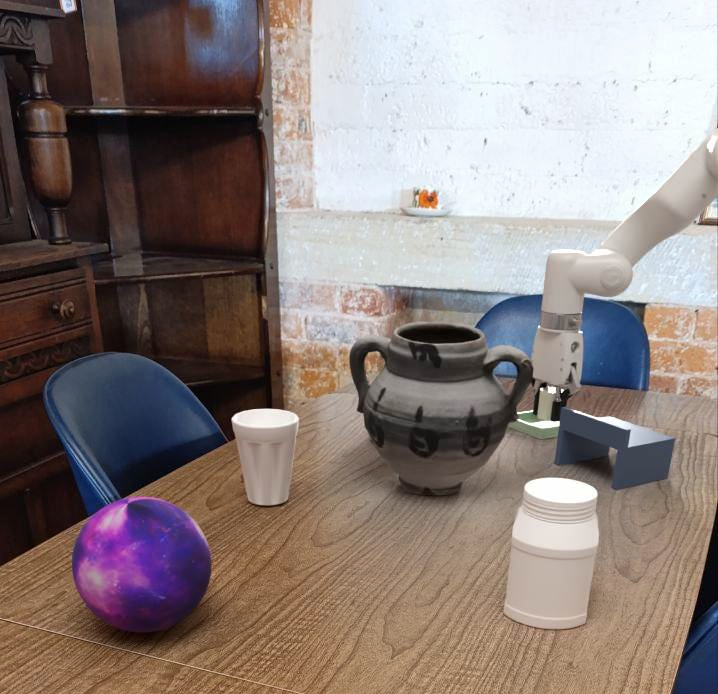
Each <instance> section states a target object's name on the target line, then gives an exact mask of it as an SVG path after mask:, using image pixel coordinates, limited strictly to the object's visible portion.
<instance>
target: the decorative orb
mask: <svg viewBox="0 0 718 694" xmlns="http://www.w3.org/2000/svg"><path fill="white" fill-rule="evenodd" d="M71 569H72V570H71V572H72V578H73V582H74V586H75V588H76V590H77V592H78V595H79V597H80V599H81V600H82V601H83V603H84V605H85V606H86V607H87V609H89V610H90V612H91V613H93V614H94V615H95V616H96V617H97V618H98V619H100V620H102V621H103V622H104V623H106V624H108V625H110V626H111V627H114V628H117V629H119V630H123V631H127V632H131V633H154V632H159V631H163V630H167V629H169V628H171V627H173V626H175V625H178V624H179V623H180V622H182V621H183V620H185V619H187V617H189V616H190V615H191V614H193V612H194V611H195V610H196V609H197V607H198V606H199V605H200V603H201V602H202V601H203V598H204V597H205V595H206V593H207V591H208V588H209V585H210V582H211V577H212V553H211V549H210V545H209V542H208V540H207V538H206V536H205V534H204V532H203V530H202V529H201V527H200V526H199V524H198V523H197V522H196V521H195V519H193V517H191V516H190V515H189V514H188V513H187V512H186V511H185V510H184V509H182V508H180V507H179V506H177V505H175V504H173V503H171V502H169V501H166V500H163V499H160V498H157V497H151V496H132V497H131V496H129V497H125V498H121V499H118V500H115V501H113V502H110V503H109V504H106V505H105V506H104V507H101V508H100V509H99V510H98V511H96V512H95V513H93V515H92V516H91V517H90V518H89V519H88V520H87V521H86V522H85V524H84V525H83V526H82V528H81V530H80V531H79V533H78V535H77V537H76V540H75V543H74V546H73V550H72V555H71Z"/></svg>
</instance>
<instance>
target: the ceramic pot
mask: <svg viewBox="0 0 718 694" xmlns="http://www.w3.org/2000/svg"><path fill="white" fill-rule="evenodd" d="M374 352H378V353H379V354H380V357H381V358H382V359H383V360H384V365H383V368H381V370H380V371H379V373H378V374H377V376H376V377H375V378H374V380H373V381H372V382H371V383H370V381H369V380H368V377H367V369H366V358H367V356H368V354H369V353H374ZM501 363H512V364H513V365H514V367H515V370H516V378H515V382H514V384H513V386H512V389H511V391H510V392H509V394H508V395H507V393H506V390H505V388H504V386H503V384H502V382H501V381H500V380H499V379H498V378H497V376H496V375H495V374H494V371H495V369H496V368H497V367H498V366H499V365H500V364H501ZM349 370H350V374H351V379H352V382H353V384H354V386H355V389H356V392H357V397H358V402H357V408H356V412H358V413H360V414H363V416H362V417H363V423H364V428H365V430H366V431H367V434H368V435H369V436H368V437H370V440H371V442H372V444H373V446H374V447H375V449H376V451H377V453H378V454H379V457H381V459H383V461H384V462H385V464H386V465H387V466H388V467H389V468H390V469H391V471H392V472H394V473H395V474H396V475H397V476H398V480H399V483H400V486H401V487H402V489H403V490H404V491H406V492H408V493H411V494H414V495H422V496H446V495H451V494H454V493H456V492H458V491H459V490H460V489H461V488H462V485H463V481H465V480H466V479H468V478H469V477H470V476H472V475H473V474H475V473H477V472H478V471H479V470H480V469H481V468H482V467H484V465H486V463H487V462H488V461H489V460H490V459H491V457H492V456H493V455H494V453H495V451H496V450H497V449H498V447H500V444H501V442H502V441H503V439H504V437H505V436H506V432H507V429H508V428H509V427H508V424H509V423H514V422H516V421H517V420H518V419H519V415H518V413H519V412H518V411H517V407H518V405H519V404H520V402H521V400H523V397H524V395H525V393H526V392H527V390H528V388H529V386H530V385H531V381H532V378H533V371H534V368H533V365H532V362H531V358H530V357H529V356H528V354H526V352H524V351H523V350H521V349H519V348H517V347H515V346H513V345H507V344H505V345H502V344H499V345H496V346H492V347H491V348H489V345H488V342H487V339H486V336H485V333H484V332H483V331H482V330H481V329H478V328H477V327H474V326H471V325H467V324H464V323H458V322H453V321H416V322H408V323H406V324H403V325H400V326H399V327H397V328H395V329H394V330H393V333H392V336H391V338H389V337H386V336H382V335H377V334H367V335H365V336H363V337H360V338H358V339H357V340H356V341H355V342H354V343H353V345H352V346H351V348H350V351H349Z"/></svg>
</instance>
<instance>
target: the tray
mask: <svg viewBox="0 0 718 694" xmlns="http://www.w3.org/2000/svg"><path fill="white" fill-rule="evenodd" d="M517 413H518V415H519V419H518V420H517V421H516V422H514V423H509V424H508V427H507V428H510V429H513V430H516V431H518V432H520V433H523V434H526V435H528V436H531V437H532V438H536V439H538V440H547V439H552V438H558V430H559V422H560V421H556V422H552V421H547V420H541V419H539V418H537V415H534V414H533V410H527V411H521V412H517Z"/></svg>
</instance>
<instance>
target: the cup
mask: <svg viewBox="0 0 718 694" xmlns="http://www.w3.org/2000/svg"><path fill="white" fill-rule="evenodd" d="M299 423H300V418H299V417H298V415H297V414H296V413H294V412H292V411H289V410H284V409H279V408H255V409H248V410H243V411H240V412H237V413H235V414H234V415H233V416H232V417H231V425H232V431H233V433H234V437H235V442H236V446H237V452H238V458H239V462H240V467H241V471H242V478H243V482H244V483H243V484H244V487H245V492H246V497H247V500H248V502H250V503H251V504H254V505H259V506H276V505H280V504H283V503H285V502H287V501H288V499H289V495H290V487H291V479H292V474H293V464H294V457H295V449H296V442H297V434H298V431H299Z"/></svg>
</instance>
